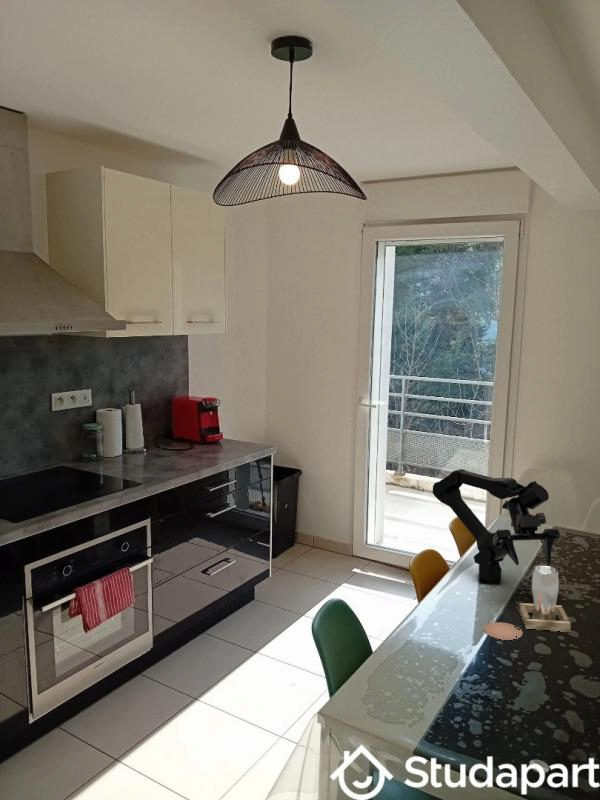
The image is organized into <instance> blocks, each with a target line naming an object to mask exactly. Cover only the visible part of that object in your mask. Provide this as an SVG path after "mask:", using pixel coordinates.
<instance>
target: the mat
mask: <svg viewBox="0 0 600 800" xmlns="http://www.w3.org/2000/svg"><path fill="white" fill-rule="evenodd" d="M514 626H515V627H516V626H517V625H514V624H511V623H508V622H501V621H500V622H497V621H496V622H494V621H493V622H490V623H487V624H486V625H484V627H483V632H484V631H485V632H486V633H485V632H484V633H485V635H487V634H488V635H489V636H488V635H487V636H488V637H490V636H491V637H490V638H492V637H494V638H493V639H495V638H497V639H496V640H498V639H501V640H500V641H504V640H512V641H514V640H513V639H517V640H519V639H518V638H520V637H521V636H522V637H523V635H522V634H523V630H522V629H521V628H520V627H518V626H517V627H516V628H518V629H520V630H518V629H516V628H515V627H514ZM516 636H517V638H516ZM522 637H521V638H522ZM521 638H520V639H521Z"/></svg>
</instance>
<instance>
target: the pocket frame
mask: <svg viewBox="0 0 600 800" xmlns="http://www.w3.org/2000/svg"><path fill="white" fill-rule="evenodd" d="M520 612H521V613H520ZM519 613H520V616H522V617H521V619H522V621H524V622H523V625H524V624H525V625H524V627H526V628H525V630H526V629H536V630H535V631H542V630H550V631H549V632H557V631H560V632H561V633H571V631H572V629H571V627H572V625H571V624H572V623H571V621H570V619H569V617H568V616H567V613H566V611H565V610H564V608H563V606H562V604H561V605H557V604H555V616H557V617H558V619H559V620H556V621H554V620H538V619H533V618H530V615H529V614H528V613H533V614H534V603H524V602H520V603H519ZM533 614H532V615H533ZM560 632H559V633H560Z"/></svg>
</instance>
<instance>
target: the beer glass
mask: <svg viewBox="0 0 600 800" xmlns="http://www.w3.org/2000/svg"><path fill="white" fill-rule="evenodd" d="M559 585H560V582H559V569H557V568H556V567H553V566H550V565H535V566H533V567H532V573H531V592H532V599H533V604H534V614H532V619H538V620H554V621H557V620H556V615H555V605H557V600H558V594H559Z"/></svg>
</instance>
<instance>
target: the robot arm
mask: <svg viewBox="0 0 600 800" xmlns="http://www.w3.org/2000/svg"><path fill="white" fill-rule="evenodd" d="M463 485H466V486H470V487H474V488H477V489H480V490H484V491H486V492H488V493H489V494H490V495H491V496H493V497H495V498H498V499H499V500H505V499H506V500H505V501H504V503H503V504H502V505H501V508H502V509H504V510H507V511H508V513H509V517H510V521H511V522H510V526H511V528H513V532H514V533H511V530H510V529H497V530H496V531H495V532H491V531H489V530H488V529H487V527H485V525H484V523H482V522H481V520H480V519H479V518H478V517H477V515H476V514H475V513H474V512H473V510H472V509H471V508H470V507H469V506H468V504H467V503H466V502H465V501H464V499H463V498H462V492H461V487H462V486H463ZM432 494H433V496H434V498H435V499H437V500H438V501H439V502H440V503H442V504H444V505H446V506H447V507H449V508H450V509H451V510H452V512H453V513H454V514H455V515H456V516H457V518H458V519H459V520H460V522H461V523H462V524H463V525H464V527H465V528H466V529H467V530H468V531H469V533H470V534H471V535H472V536H473V539H475V541H476V546H477V550H478V551H479V552H477V553H476V554H474V556H473V560H474V563H475V564H477V565H478V574H477V578H478V579H477V580H478V582H479V584H485V585H486V584H487V585H488V584H489V585H501V581H502V567H501V565H500V562H503V561H504V560H505V557H507V555H508V556H509V558H510V559H511V560H512V562H513V563H514V564H515V565H516V566H519V564H520V563H519V558H518V555H517V552H516V549H515V545H514V542H515V541H540V542H541V544H542V545H541V549H542V552H543V555H544V558H545V562H546V563H547V565H550V564H551V558H552V557H551V556H552V549H553V546H554V545H556V544H557V542H558V541H559V540H560V539H561V537H562V535H561V532H560V530H559V529H558V528H556V527H555V528H544V530H543V531H542V532H538V533H537V531H538V530H539V528H538V527H541V525H545V524H546V523H547V520H546V519H547V518H546V516H545V512H537V513H535V515H532V514H531V513H530V511H529V510H535V509H536V508H538V507H539V506H541V505H542V504H544V503H545V502H548V500H549V499H550V497H549V492H548V490H547V488H545V487H544V486H543V485H540V484H538V483H537V481H536V480H534V481H530V482H529V483H528V484H527V485H526V486H524V485H523V484H520V483H518V482H517V480H516V479H515V478H512V477H492V476H488V475H485V474H484V475H483V474H479V473H476V472H472V471H468V470H466V469H463V468H461V469H457V470H456V469H455V470H453V471H452V472H450V474H448V475H447V476H445V477H444V478H442V479H440V480H439V481H437V482H436V481H435V482H434V483H433V485H432ZM508 498H510V499H509V500H507V499H508Z"/></svg>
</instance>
